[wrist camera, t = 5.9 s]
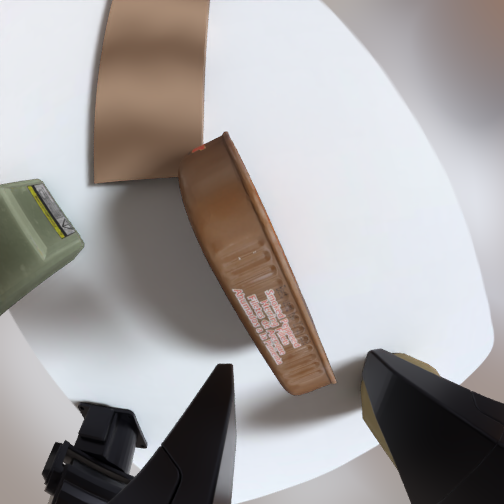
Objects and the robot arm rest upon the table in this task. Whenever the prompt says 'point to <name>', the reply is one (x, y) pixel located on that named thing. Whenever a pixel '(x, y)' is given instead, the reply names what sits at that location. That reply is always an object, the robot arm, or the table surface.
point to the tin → (252, 264)
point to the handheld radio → (31, 239)
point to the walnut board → (150, 88)
